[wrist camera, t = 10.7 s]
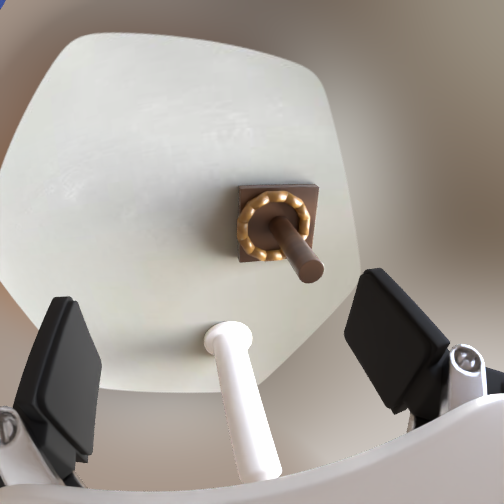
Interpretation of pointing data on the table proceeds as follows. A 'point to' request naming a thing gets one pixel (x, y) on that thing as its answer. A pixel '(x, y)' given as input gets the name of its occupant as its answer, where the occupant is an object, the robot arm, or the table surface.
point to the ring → (256, 204)
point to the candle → (242, 403)
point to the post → (283, 228)
